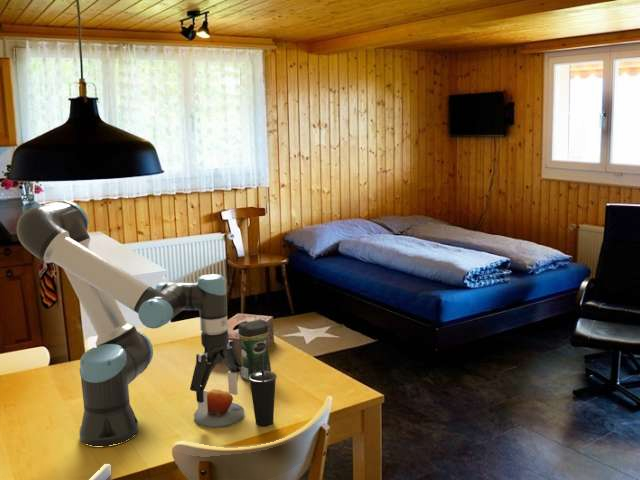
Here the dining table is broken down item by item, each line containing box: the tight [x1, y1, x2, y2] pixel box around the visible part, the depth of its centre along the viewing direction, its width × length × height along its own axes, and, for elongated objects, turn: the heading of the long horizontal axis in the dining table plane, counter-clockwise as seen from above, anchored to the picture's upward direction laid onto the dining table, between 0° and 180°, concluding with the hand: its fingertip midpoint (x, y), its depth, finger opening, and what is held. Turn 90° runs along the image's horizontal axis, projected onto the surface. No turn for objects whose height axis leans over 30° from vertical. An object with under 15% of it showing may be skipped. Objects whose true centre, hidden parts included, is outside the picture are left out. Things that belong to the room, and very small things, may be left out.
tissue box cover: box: [217, 313, 275, 365], centre depth 240 cm, size 26×14×10 cm, turn 161°
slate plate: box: [193, 402, 245, 429], centre depth 189 cm, size 14×14×1 cm
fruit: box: [207, 388, 234, 418], centre depth 188 cm, size 8×8×8 cm
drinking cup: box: [248, 354, 278, 428], centre depth 183 cm, size 8×8×20 cm
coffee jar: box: [238, 319, 272, 381], centre depth 216 cm, size 10×8×19 cm
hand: (218, 402), depth 189 cm, fingers open, 13 cm apart
